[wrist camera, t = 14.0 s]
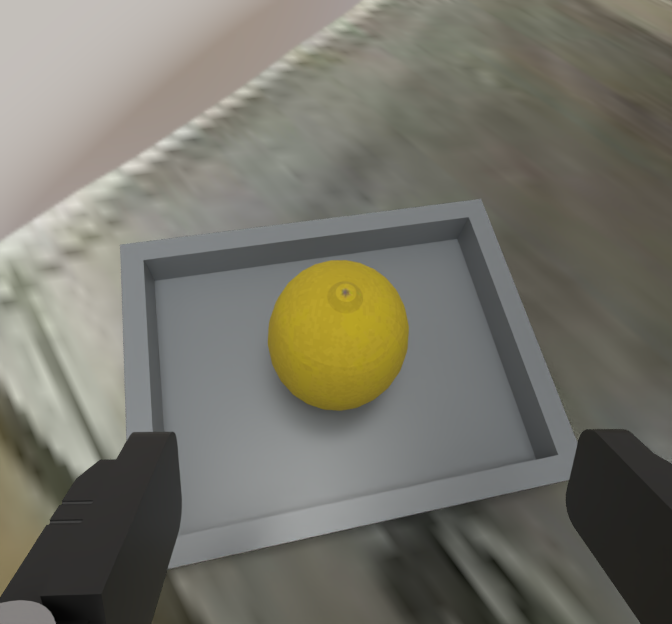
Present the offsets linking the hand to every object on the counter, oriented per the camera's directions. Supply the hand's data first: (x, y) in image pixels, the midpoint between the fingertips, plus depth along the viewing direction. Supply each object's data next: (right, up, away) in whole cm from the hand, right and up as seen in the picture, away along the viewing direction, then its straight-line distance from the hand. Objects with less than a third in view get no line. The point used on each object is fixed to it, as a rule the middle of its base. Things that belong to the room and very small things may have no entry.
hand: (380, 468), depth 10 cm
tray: (-1, 0, +15) cm, 15 cm away
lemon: (-1, 0, +14) cm, 14 cm away
